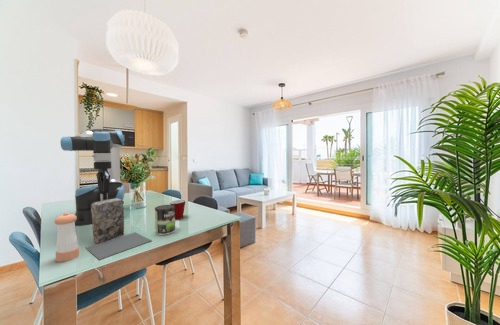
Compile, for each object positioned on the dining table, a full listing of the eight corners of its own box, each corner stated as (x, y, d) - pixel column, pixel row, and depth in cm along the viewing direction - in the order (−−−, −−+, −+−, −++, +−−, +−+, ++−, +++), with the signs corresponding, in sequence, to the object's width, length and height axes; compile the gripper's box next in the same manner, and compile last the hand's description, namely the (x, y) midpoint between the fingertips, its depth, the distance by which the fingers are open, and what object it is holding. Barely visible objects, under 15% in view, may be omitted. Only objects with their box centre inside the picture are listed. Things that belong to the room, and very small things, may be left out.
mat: (85, 248, 93) (85, 247, 93) (135, 232, 111) (135, 232, 111) (99, 260, 82) (99, 259, 82) (151, 241, 100) (151, 240, 100)
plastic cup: (174, 215, 142) (173, 198, 141) (188, 215, 140) (188, 199, 140) (166, 220, 131) (165, 202, 130) (182, 220, 130) (181, 202, 129)
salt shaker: (83, 252, 89) (81, 210, 88) (69, 261, 81) (66, 215, 80) (66, 253, 88) (64, 210, 88) (50, 262, 81) (48, 216, 80)
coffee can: (179, 230, 114) (178, 206, 113) (163, 236, 105) (162, 210, 105) (167, 226, 119) (167, 203, 119) (151, 232, 111) (150, 207, 110)
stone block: (100, 244, 97) (98, 204, 96) (91, 242, 99) (89, 202, 98) (126, 234, 109) (124, 198, 108) (117, 232, 112) (116, 197, 111)
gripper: (89, 161, 106) (91, 205, 107) (98, 161, 98) (100, 208, 99) (106, 161, 112) (108, 202, 113) (115, 161, 104) (117, 205, 105)
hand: (104, 205), depth 106 cm, fingers closed
